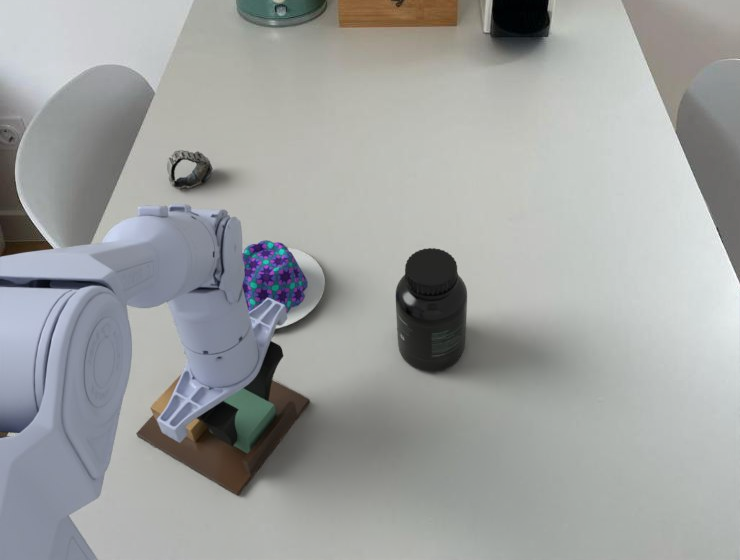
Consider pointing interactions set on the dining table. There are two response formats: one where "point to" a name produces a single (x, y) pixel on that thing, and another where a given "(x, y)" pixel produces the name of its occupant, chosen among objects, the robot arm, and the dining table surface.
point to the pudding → (282, 279)
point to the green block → (250, 417)
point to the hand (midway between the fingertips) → (242, 418)
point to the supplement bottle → (431, 311)
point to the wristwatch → (197, 175)
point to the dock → (214, 454)
